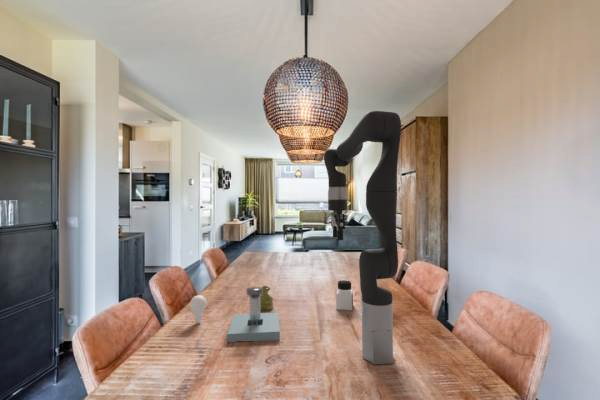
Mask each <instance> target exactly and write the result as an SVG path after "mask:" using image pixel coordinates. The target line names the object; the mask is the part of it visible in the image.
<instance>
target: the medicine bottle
mask: <svg viewBox="0 0 600 400" xmlns="http://www.w3.org/2000/svg"><path fill="white" fill-rule="evenodd" d="M353 292H354V290H353V289H352V281H350V280H348V279H341V280H338V281H337V291H336V294H335V296H336V297H335V307H336V308H335V310H337V311H338V310H341V311H353V307H354V293H353Z"/></svg>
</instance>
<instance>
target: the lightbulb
mask: <svg viewBox="0 0 600 400" xmlns="http://www.w3.org/2000/svg"><path fill="white" fill-rule="evenodd" d="M189 306H190V308H191V310H192V312H193V316H194V323H196V324H200V323H202V320H203V313H204V310H205V308H206V306H207V299H206V298H205V296H204V295H200V294H199V295H195V296H193V297H192V299H191V300H190V302H189Z"/></svg>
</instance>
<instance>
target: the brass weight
mask: <svg viewBox="0 0 600 400" xmlns="http://www.w3.org/2000/svg"><path fill="white" fill-rule="evenodd" d="M261 288H263V294H261V295H260V312H267V311H271V310H272V309H274V302H273V301H274V297H273V296H272V295H271V294H269V292H270V290H271V287H269V286H268V285H262V286H261Z"/></svg>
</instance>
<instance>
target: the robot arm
mask: <svg viewBox="0 0 600 400" xmlns="http://www.w3.org/2000/svg"><path fill="white" fill-rule="evenodd" d="M401 137H402V119H401V117H400V115H399V114H398V113H396V112H394V111H386V110H385V111H383V110H370V111H368V112H366V113H365V114H364V115H363V116H362V117H361V119H360V120H359V122H358V123H357V125H355V127H354V128H353V130H352V131H351V133H350V134H349V136H348V137H347V138H346V139H344V140H343V141H342V142H340V144H339V145H338V146H337V148H327V149H326V151H325V152H324V154H323V162H324V165H325V168H326V172H327V177H328V190H327V203H328V204H327V205H328V206H327V209H328V211H331V214H330V215H331V216H330V217H331V220H330V221H331V222H330V223H331V228H332V237H333V238H335V239H337V241H344V230H346V217H345V216H346V215H345V213H343V211H347V210H348V191H347V176H346V175H347V174H346V173H345V172H341V171H338V170H337V169H336V168H337V167H339V168H340V167H341V168H342V167H343V168H344V167H347V166H349V165H350V163H351V161H352V160H353V159H354V157H357V156H358V155H359V154H360V153H361V152H362V150H363V147H364V143H366V142H371V143H381V145H382V146H381V155H380V159H379V161H378V163H377V166H376V167H375V169H374V170H373V172H372V174H371V175H370V177H369V178H368V181H367V182H366V186H365V190H366V191H365V207H366V210H367V213H368V214H369V216H370V217H371V219H372V221H373V223H374V224H375V227H377V230H378V233H379V237H380V248H370V249H368V248H367V249H363V250H362V251H361V252H360V255H359V257H358V258H359V259H358V260H359V261H358V269H359V284H360V285H359V286H360V293H361V295H362V300H361V348H362V349H361V350H362V351H361V353H362V357H363V358H364V360H366V361H368V362H369V363H371V364H372V365H385V364H389V365H390V364H393V363H394V339H393V338H394V335H393V333H394V330H393V329H394V328H393V327H394V325H393V324H394V323H393V322H394V321H393V319H394V318H393V315H394V314H393V312H394V311H393V309H394V308H393V293H392V292H391V291H390V290H388V289H386V288H383V287H380V286H378V282H377V281H378V280H385V279H392V278H394V277H395V276H396V275H397V273H398V270H399V253H398V252H399V251H398V240H397V239H398V238H397V206H398V205H397V204H398V161H399V151H400V144H401V143H400V142H401ZM332 211H333V212H332Z"/></svg>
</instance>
